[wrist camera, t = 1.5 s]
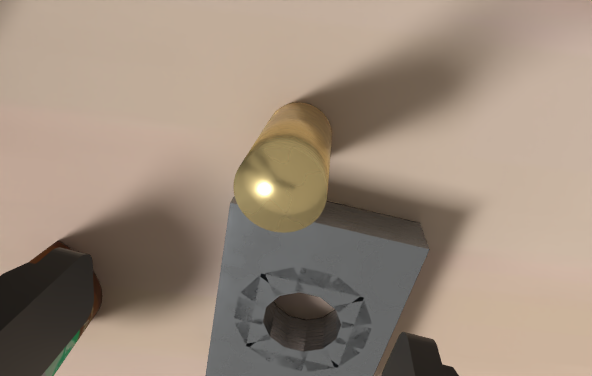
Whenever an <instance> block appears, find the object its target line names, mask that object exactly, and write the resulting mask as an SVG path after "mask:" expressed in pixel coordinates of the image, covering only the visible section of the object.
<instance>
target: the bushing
mask: <svg viewBox="0 0 592 376" xmlns="http://www.w3.org/2000/svg"><path fill="white" fill-rule="evenodd" d="M331 140H332V131H331V126H330V123H329V121H328V119H327V118H326V116H325V115H324V114H323V113H322V112H321V111H320V110H319V109H318V108H316V107H314V106H312V105H310V104H307V103H298V102H297V103H290V104H287V105H284V106H283V107H281V108H280V109H278V110H277V111H276V112H275V113H274V114H273V116H272V117H271V118H270V120H269V122H268V123H267V125H266V126H265V128H264V129H263V131H262V132H261V134H260V136H259V137H258V139H257V140H256V142H255V143H254V145H253V147H252V148H251V150H250V151H249V153H248V154H247V156H246V157H245V159H244V161H243V162H242V164H241V165H240V167H239V169H238V170H237V173H236V175H235V179H234V195H235V199H236V202H237V204H238V206H239V208H240V210H241V211H242V212H243V214H244V215H245V216H246V217H247V218H248V219H249V220H250V221H251V222H253V223H254V224H256V225H257V226H259V227H261V228H264V229H266V230H269V231H273V232H281V233H286V232H294V231H298V230H301V229H303V228H306V227H307V226H309V225H311V224H312V223H313V222H314V221H315V220H316V219H317V218H318V217H319V216H320V215H321V213H322V211H323V209H324V207H325V204H326V200H327V191H328V178H329V165H330V153H331Z"/></svg>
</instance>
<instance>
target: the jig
mask: <svg viewBox="0 0 592 376" xmlns="http://www.w3.org/2000/svg"><path fill="white" fill-rule="evenodd" d="M428 251H429V247H428V244H427V241H426V238H425V236H424V233H423V230H422V227H421V225H420V223H417V222H413V221H409V220H404V219H400V218H396V217H392V216H387V215H383V214H379V213H375V212H370V211H366V210H362V209H357V208H353V207H349V206H345V205H340V204H336V203H332V202H327V201H326V204H325V207H324V209H323V211H322V213H321V215H320V216H319V217H318V218H317V219H316V220H315V221H314V222H313V223H312V224H311V225H309V226H307V227H306V228H303V229H301V230H298V231H294V232H286V233H281V232H273V231H269V230H266V229H264V228H261V227H259V226H257V225H256V224H254V223H253V222H251V221H250V220H249V219H248V218H247V217H246V216H245V215H244V214H243V212H242V211H241V210H240V208H239V206H238V204H237V202H236V199H235V196H234V197H233V199H232V201H231V203H230V209H229V216H228V223H227V230H226V237H225V244H224V251H223V258H222V265H221V272H220V279H219V286H218V293H217V300H216V307H215V314H214V320H213V327H212V334H211V341H210V348H209V355H208V362H207V369H206V376H373V375H374V373H375V371H376V369H377V366H378V364H379V362H380V360H381V357H382V355H383V353H384V351H385V348H386V346H387V344H388V342H389V339H390V337H391V335H392V333H393V330H394V328H395V326H396V324H397V321H398V319H399V317H400V315H401V312H402V310H403V308H404V306H405V303H406V301H407V299H408V297H409V294H410V292H411V290H412V288H413V285H414V283H415V281H416V278H417V276H418V274H419V272H420V269H421V267H422V265H423V263H424V260H425V258H426V256H427V254H428ZM298 292H300V293H304V294H309V295H313V296H317V297H321V298H322V299H323V300H324V301H326V302H327V303H328V304H329V305H331V306H332V307H333V308H335V310H334V311H332V312H331V313H330V314H328V315H327V316H326V317H324V318H319V319H313V320H303V319H299V318H295V317H290V316H289V315H287V314H286V313H285V312H283V311H282V310H281V309H279V308H278V307H277V306H276V304H275V302H274V300H275V299H276V298H278V297H279V296H282V295H288V294H293V293H298Z"/></svg>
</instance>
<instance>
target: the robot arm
mask: <svg viewBox="0 0 592 376" xmlns="http://www.w3.org/2000/svg"><path fill="white" fill-rule="evenodd" d="M93 304H94V287H93V264H92V258H91V256H90V255H89V254H85V253H81V252H77V251H73V250H68V249H64V248H55V249H53V250H52V251H50V252H49V253H48V254H47V255H46V256H44V257H43V258H42V259H41V260H39V261H38V262H37V263H36V264H33V263H29V262H28V263H26V264H24V265H22V266H19V267H17V268H15V269H13V270H10V271H8V272H6V273H4V274H2V275H1V276H0V376H42V375H43V373H44V372H45V371H46V370H47V369H48V367H49V366H50V365H51V364H52V363H53V361H54V360H55V359H56V358H57V357H58V355H59V354H60V353H61V352H62V351H63V349H64V348H65V347H66V346H67V344H68V343H69V342H70V341H71V340H72V338H73V337H74V336H75V335H76V334H77V332H78V331H79V330H80V329H81V328H82V326H83V325H84V324H85V322H86V321H87V319H88V317H89V315H90V313H91V311H92V308H93ZM382 376H459V375H458V374H457V372H456V371H455V369H454V368H453V367H450V366H446V365H442V362H441V359H440V355H439V352H438V348H437V345H436V343H435V341H434V340H433V339H430V338H426V337H421V336H417V335H413V334H409V333H405V332H402V333H401V334H400V335H399V337H398V339H397V342H396V344H395V346H394V348H393V350H392V353H391V355H390V357H389V359H388V361H387V364H386V366H385V368H384V370H383V373H382Z"/></svg>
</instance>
